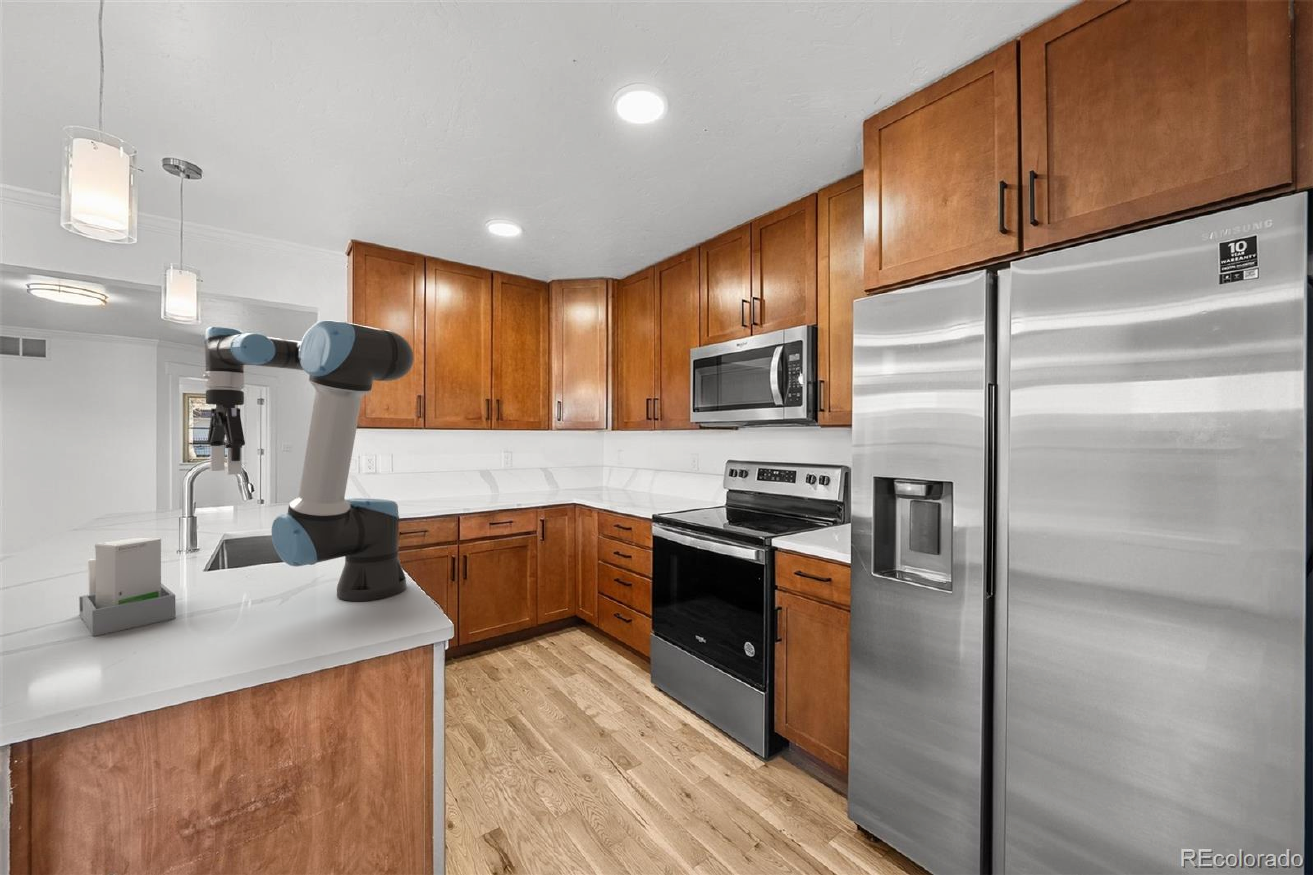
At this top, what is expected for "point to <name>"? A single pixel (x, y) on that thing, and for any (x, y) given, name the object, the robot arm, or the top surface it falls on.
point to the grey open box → (123, 609)
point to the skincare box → (127, 571)
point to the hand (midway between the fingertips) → (225, 472)
